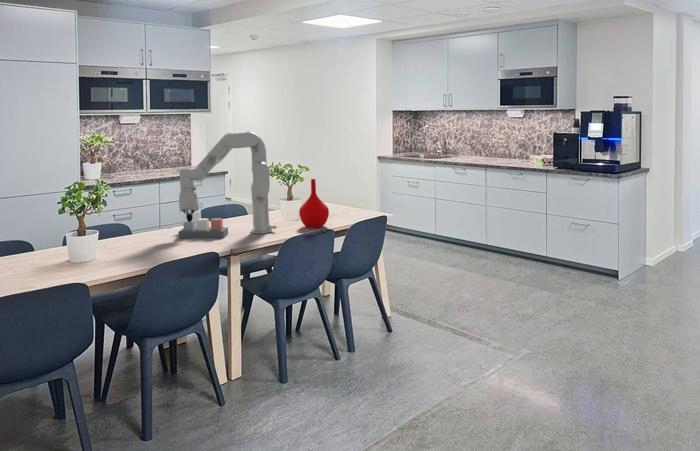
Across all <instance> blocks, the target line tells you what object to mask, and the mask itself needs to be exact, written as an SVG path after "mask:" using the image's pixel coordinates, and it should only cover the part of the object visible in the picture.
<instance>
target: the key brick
mask: <svg viewBox="0 0 700 451" xmlns="http://www.w3.org/2000/svg"><path fill="white" fill-rule="evenodd" d="M223 223H224V222H223V217H219V218H217V217H216V218H215V217H214V218H211V219H210V227H211V230H222V229H223V227H224V224H223Z"/></svg>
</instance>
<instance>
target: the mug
mask: <svg viewBox="0 0 700 451" xmlns="http://www.w3.org/2000/svg"><path fill="white" fill-rule="evenodd" d="M188 211H189V214H190V210H188ZM192 218H193V219H192V221H195V222H196V228H197V220H198V219H201V218H202V214H201V210H199V209H198V211H195V212H194V213H193V214H192ZM186 219H187V216H186V215H185V216H184V218H183V222H185V221H186Z"/></svg>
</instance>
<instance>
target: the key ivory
mask: <svg viewBox="0 0 700 451" xmlns="http://www.w3.org/2000/svg"><path fill="white" fill-rule="evenodd" d="M209 227H210V219H209V218H202V217H201V219H198V220H197V230H198V231H202V230H209Z"/></svg>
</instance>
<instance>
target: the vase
mask: <svg viewBox="0 0 700 451" xmlns="http://www.w3.org/2000/svg"><path fill="white" fill-rule="evenodd" d="M316 187H317V185H316V178H311V179H310V195H309V197H308V198H307V199H306V201H305V202H304V203H303V204H302V205H301V206H300V208H299V212H298V214H299V217H300V220H301V223H302V224H303V226H304V227H306V228H308V229H320V228H323V227H324V226H325V225H326V223H327V222H328V219H329V216H330V211H329V207H328V206H327V205H326V204H325V203H324V202H323V201H322V200H321V199H320V198H319V196H318V194H317V188H316Z"/></svg>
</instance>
